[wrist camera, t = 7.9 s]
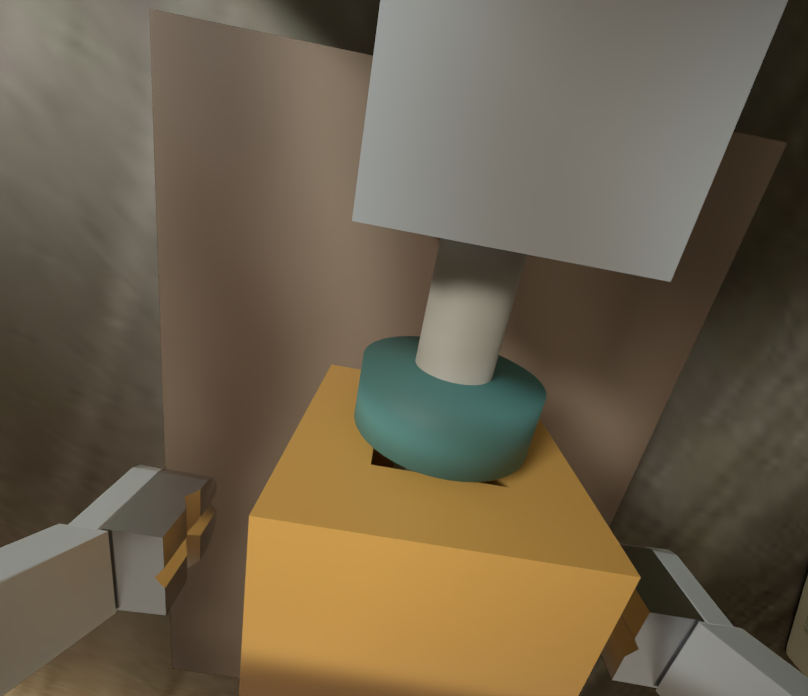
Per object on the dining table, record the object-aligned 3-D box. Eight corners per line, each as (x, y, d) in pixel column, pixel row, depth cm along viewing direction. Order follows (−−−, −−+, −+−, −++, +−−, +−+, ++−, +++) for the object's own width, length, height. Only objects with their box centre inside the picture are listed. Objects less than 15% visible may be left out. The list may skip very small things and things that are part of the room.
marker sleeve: (305, 567, 10) (232, 809, 6) (331, 364, 8) (249, 516, 4) (464, 591, 10) (499, 842, 6) (527, 398, 8) (640, 577, 4)
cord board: (190, 633, 18) (-5, 1001, 10) (185, 37, 10) (-896, -823, 2) (513, 679, 19) (597, 1062, 10) (738, 152, 11) (1878, -74, 2)
